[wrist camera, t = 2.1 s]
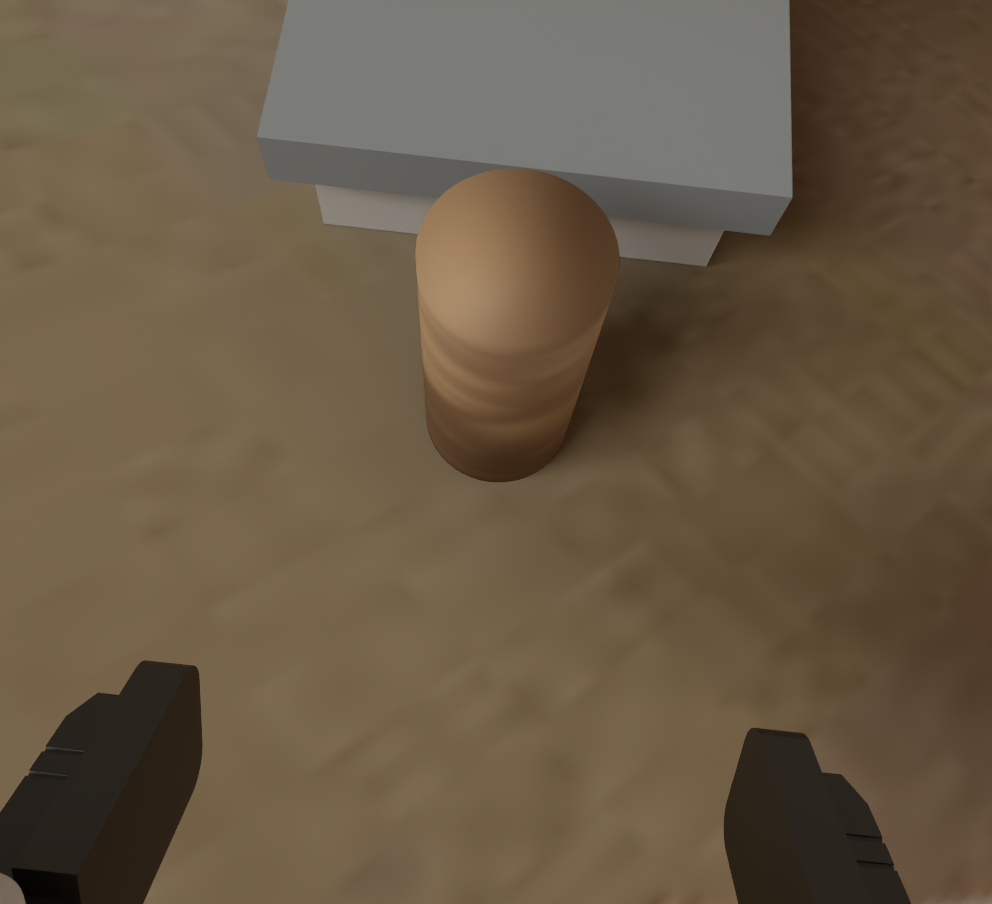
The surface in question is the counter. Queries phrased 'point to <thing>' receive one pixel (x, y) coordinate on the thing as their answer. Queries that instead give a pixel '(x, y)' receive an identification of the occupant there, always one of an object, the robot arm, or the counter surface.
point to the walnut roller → (510, 316)
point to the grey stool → (540, 110)
